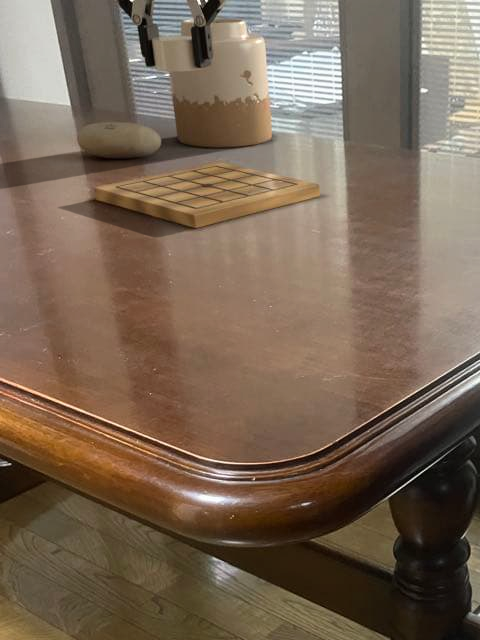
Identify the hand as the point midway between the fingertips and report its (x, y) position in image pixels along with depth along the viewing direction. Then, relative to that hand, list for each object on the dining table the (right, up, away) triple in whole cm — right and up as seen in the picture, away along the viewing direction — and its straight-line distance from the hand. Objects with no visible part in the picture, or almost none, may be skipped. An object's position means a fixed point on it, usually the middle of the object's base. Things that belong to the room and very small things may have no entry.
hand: (178, 64), depth 99 cm
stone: (-17, +3, +32) cm, 37 cm away
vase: (-4, +12, +45) cm, 47 cm away
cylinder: (0, 0, 0) cm, 0 cm away
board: (+1, -10, +12) cm, 16 cm away
